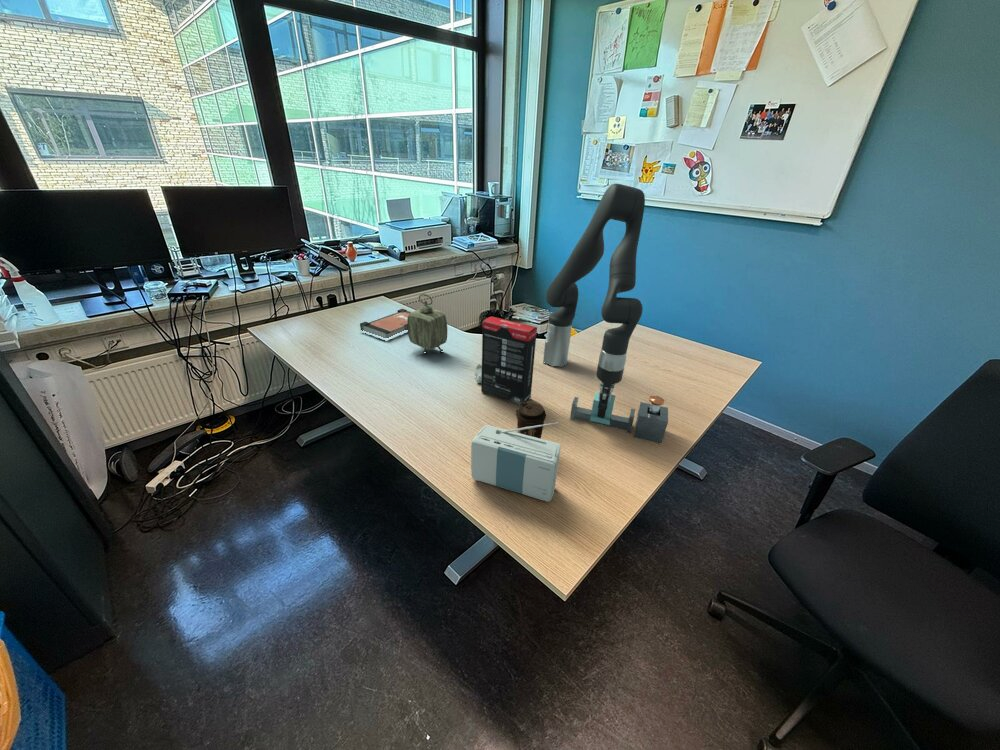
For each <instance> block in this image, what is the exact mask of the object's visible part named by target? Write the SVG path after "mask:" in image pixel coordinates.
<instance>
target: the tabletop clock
mask: <svg viewBox="0 0 1000 750" xmlns="http://www.w3.org/2000/svg"><path fill="white" fill-rule="evenodd" d="M423 296H424V297H428V298H429V299H430V301H431V302H428V301H427V300H425V301H422V300H421V297H423ZM418 300H419V302H420V303H421V304H422V305H421V306H420V308H419V309H416V310H414V311H410V312H411V313H410V314H409V316H408V319H407V325H408V340H409V341H410V343H412V344H413V345H416V346H418V347H421V348H424V350H422V353H423V352H426V351H427V349H430V350H434V349H436V348H438V349H439V352H440V351H443V350H444V349H442V348H441V345H444V344H445V343H447V341H448V322H447V317H446V314H445V313H443V312H442V311H440V310H438V309H435V308H432V306H431V305H432V304H433V298H432V297H431V296H430V295H428V294H426V293H421V294H419V295H418Z"/></svg>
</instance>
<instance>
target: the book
mask: <svg viewBox="0 0 1000 750" xmlns="http://www.w3.org/2000/svg"><path fill="white" fill-rule="evenodd" d="M411 312H412V311H409V310H408V309H406V308H405V309H404V308H400V309H398V310H397V312H395V313H392V314H389V315H386V316H384V317H381V318H377V319H375V320H373V321H370V322H368V321H363V322H361V323H359V327H360V331H361V330H362V331H363V330H364V331H366V332H369V333H372V334H375V335H378V336H381V337H383V338H389V337H391V336H393V335H395V334H397V333H400V332H402V331H404V330H408V325H407V319H408V316H409V314H410V313H411Z"/></svg>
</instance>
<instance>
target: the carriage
mask: <svg viewBox="0 0 1000 750" xmlns="http://www.w3.org/2000/svg"><path fill="white" fill-rule="evenodd" d="M599 393H600V391H596V392H595V394H594V397H593V400H592V401H593V402H592V406H591V407H592V408H591V410H592V412H591V418H590V421H594V422H599V423H603V424H608V425H610V420H611V415H612V414H613V411H614V404H615V400H616V395H614V394H611V399H610V401H609V402H608V404H607V406H608V407H607V409H606V413H605V417H604V418H600V417H597V415H598V409H599V408H598V404H599Z"/></svg>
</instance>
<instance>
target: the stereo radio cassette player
mask: <svg viewBox="0 0 1000 750" xmlns="http://www.w3.org/2000/svg"><path fill="white" fill-rule="evenodd" d="M555 424H556V425H558V424H559V421H556V422H554V423H553V422H550V423H544V425H537V426H530V427H524V428H518V429H517V428H514V429H506V428H505V429H504V428H500V427H496V426H493V425H489V424H485V425H483V427H481V429H479V431H478V432H477V433H476V435H475V436H474V438H473V439H472V441H471V447H470V448H471V451H470V454H471V455H470V469H471V470H470V471H471V479H473V480H475V481H479V482H482V483H485V484H488V485H491V486H496V487H499V488H502V489H505V490H507V491H511V492H515V493H518V494H520V495H521V494H522V495H525V496H528V497H531V498H534V499H537V500H540V501H541V500H542V501H543V502H547V503H548V502H551V500H552V499H553V496H554V493H555V489H556V483H557V477H558V469H559V460H560V452H561V446H562V445H561V444H560V443H559V442H555V441H551V440H547V439H542V438H541V439H539V438H536V437H532V436H528V435H524V434H520V433H518V430H524V429H530V428H535V427H541V426H543V427H545V426H549V425H555Z"/></svg>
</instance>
